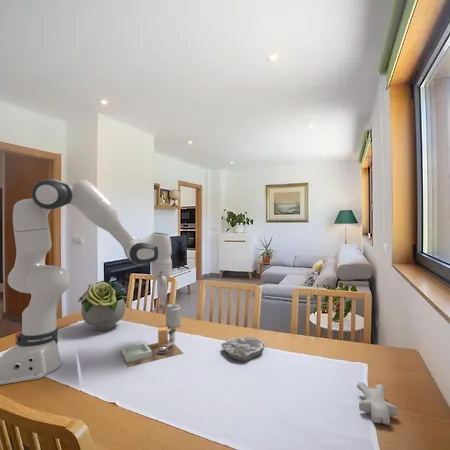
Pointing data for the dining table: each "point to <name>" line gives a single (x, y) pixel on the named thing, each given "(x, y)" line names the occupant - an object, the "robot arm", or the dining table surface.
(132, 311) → the dining table surface
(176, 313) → the can
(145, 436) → the dining table surface
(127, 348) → the tray
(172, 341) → the crank
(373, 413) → the bunny figurine
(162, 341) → the block
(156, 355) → the mechanism board
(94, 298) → the flower arrangement
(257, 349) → the brain slice
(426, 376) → the dining table surface
